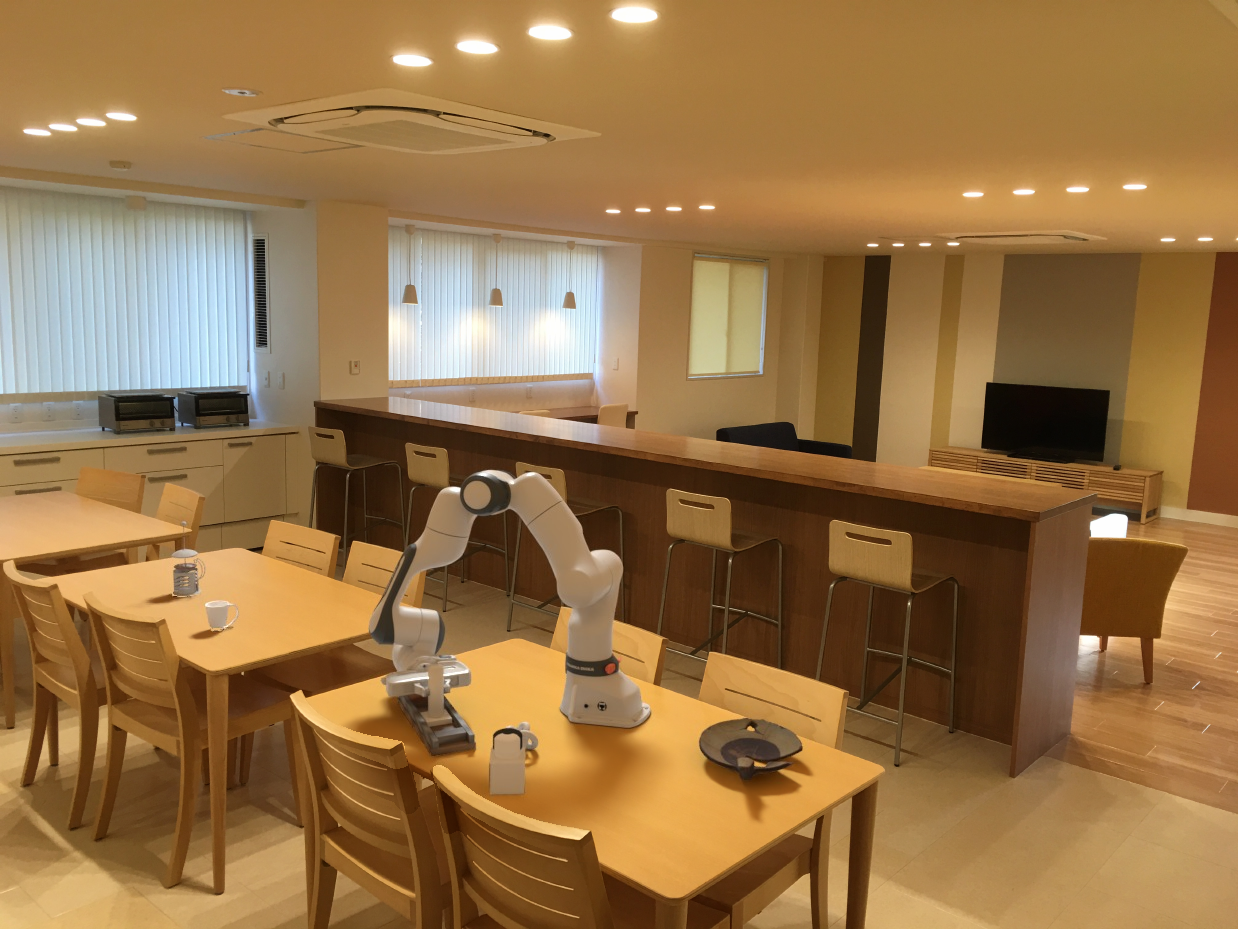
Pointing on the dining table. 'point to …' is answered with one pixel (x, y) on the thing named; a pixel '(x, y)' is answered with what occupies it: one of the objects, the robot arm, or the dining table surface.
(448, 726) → the slot track
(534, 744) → the knot
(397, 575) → the robot arm
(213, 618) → the cup
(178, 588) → the french press
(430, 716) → the post
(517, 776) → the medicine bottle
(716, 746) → the dark grey shallow dish
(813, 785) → the dining table surface
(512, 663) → the dining table surface
